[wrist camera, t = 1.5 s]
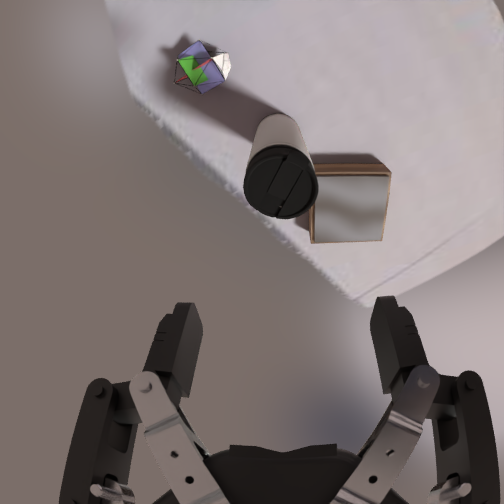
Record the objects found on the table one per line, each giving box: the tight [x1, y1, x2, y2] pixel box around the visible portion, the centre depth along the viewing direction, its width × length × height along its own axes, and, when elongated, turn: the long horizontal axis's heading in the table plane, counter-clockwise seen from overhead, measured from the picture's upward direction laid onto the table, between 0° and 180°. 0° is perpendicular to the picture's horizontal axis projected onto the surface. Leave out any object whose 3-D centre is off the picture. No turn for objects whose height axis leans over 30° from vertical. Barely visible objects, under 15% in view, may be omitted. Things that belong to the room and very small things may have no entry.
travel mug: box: [243, 114, 319, 219], centre depth 30 cm, size 6×7×20 cm
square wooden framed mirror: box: [309, 164, 391, 244], centre depth 42 cm, size 12×12×4 cm
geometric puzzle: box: [174, 39, 231, 95], centre depth 30 cm, size 7×7×8 cm
